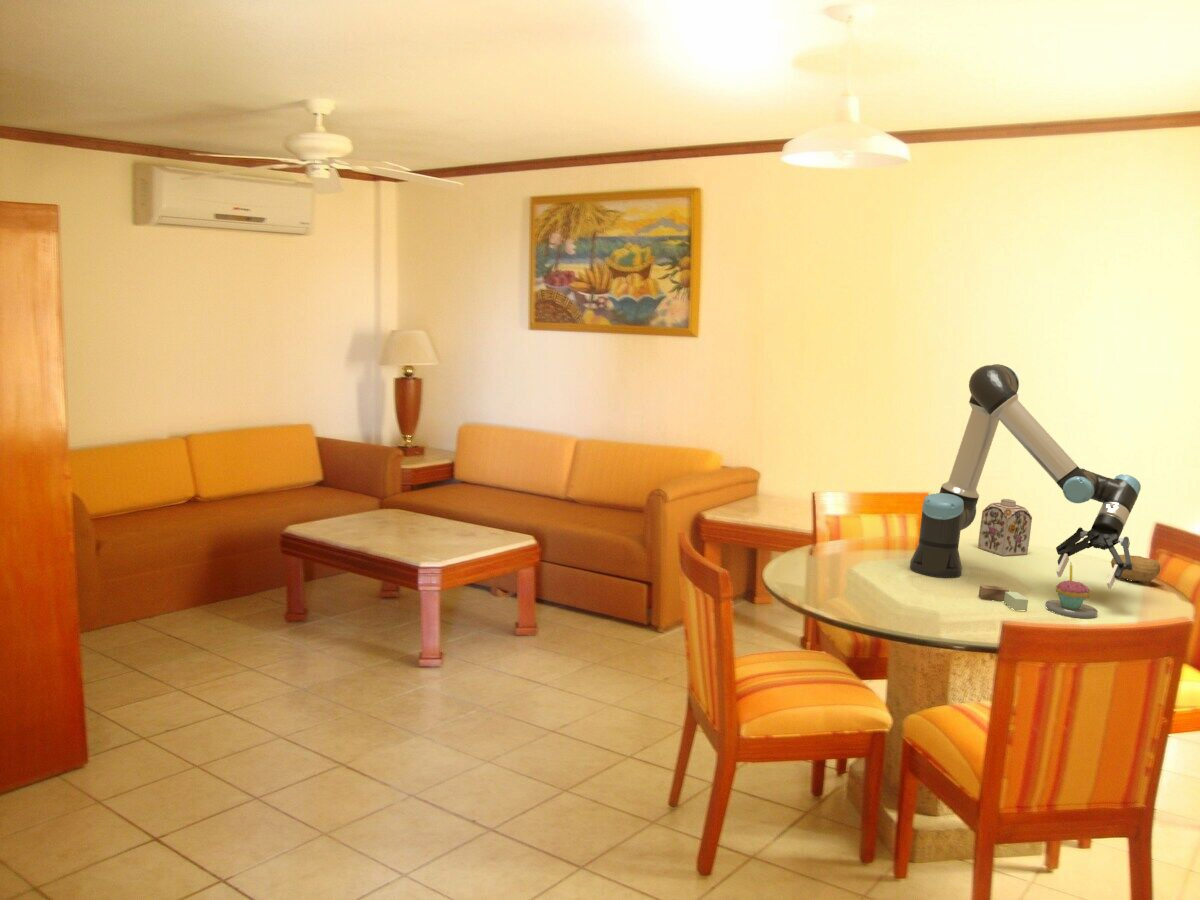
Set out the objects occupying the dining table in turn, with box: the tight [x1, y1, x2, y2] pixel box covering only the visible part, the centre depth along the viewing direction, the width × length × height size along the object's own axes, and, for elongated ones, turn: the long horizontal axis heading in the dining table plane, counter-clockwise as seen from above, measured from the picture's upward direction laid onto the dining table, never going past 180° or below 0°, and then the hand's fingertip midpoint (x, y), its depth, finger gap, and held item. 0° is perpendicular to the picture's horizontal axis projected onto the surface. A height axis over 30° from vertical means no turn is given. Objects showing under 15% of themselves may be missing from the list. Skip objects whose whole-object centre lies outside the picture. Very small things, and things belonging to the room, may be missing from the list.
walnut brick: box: [978, 584, 1010, 602], centre depth 287 cm, size 7×4×4 cm, turn 83°
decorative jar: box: [977, 498, 1033, 557], centre depth 347 cm, size 12×12×18 cm
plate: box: [1044, 599, 1099, 620], centre depth 280 cm, size 13×13×1 cm
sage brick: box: [1003, 591, 1029, 612], centre depth 280 cm, size 7×4×4 cm, turn 0°
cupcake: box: [1055, 561, 1091, 609], centre depth 279 cm, size 9×8×12 cm
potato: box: [1110, 554, 1162, 583], centre depth 318 cm, size 10×14×8 cm
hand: (1083, 580), depth 284 cm, fingers open, 13 cm apart
